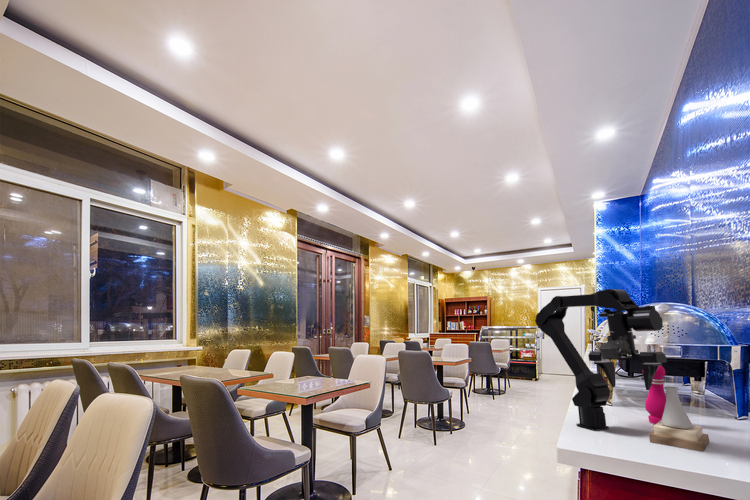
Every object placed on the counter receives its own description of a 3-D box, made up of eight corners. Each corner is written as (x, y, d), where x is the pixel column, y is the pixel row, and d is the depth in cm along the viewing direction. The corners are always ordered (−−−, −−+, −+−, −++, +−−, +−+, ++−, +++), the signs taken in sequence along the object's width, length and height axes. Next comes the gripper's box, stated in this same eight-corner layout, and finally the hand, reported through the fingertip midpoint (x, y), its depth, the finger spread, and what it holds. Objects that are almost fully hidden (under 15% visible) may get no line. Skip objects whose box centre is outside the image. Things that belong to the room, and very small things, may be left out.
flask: (698, 426, 101) (692, 387, 103) (688, 431, 97) (682, 390, 99) (666, 421, 107) (660, 384, 109) (655, 425, 103) (650, 386, 105)
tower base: (649, 442, 101) (647, 426, 102) (659, 434, 109) (656, 419, 110) (703, 451, 94) (700, 434, 94) (709, 442, 101) (706, 426, 102)
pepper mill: (670, 421, 123) (660, 357, 127) (679, 427, 116) (669, 359, 120) (643, 419, 125) (635, 356, 129) (651, 425, 118) (642, 358, 122)
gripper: (573, 333, 115) (581, 387, 111) (639, 331, 99) (651, 394, 95) (595, 332, 120) (603, 384, 117) (662, 330, 104) (673, 390, 101)
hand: (630, 388), depth 107 cm, fingers open, 9 cm apart
